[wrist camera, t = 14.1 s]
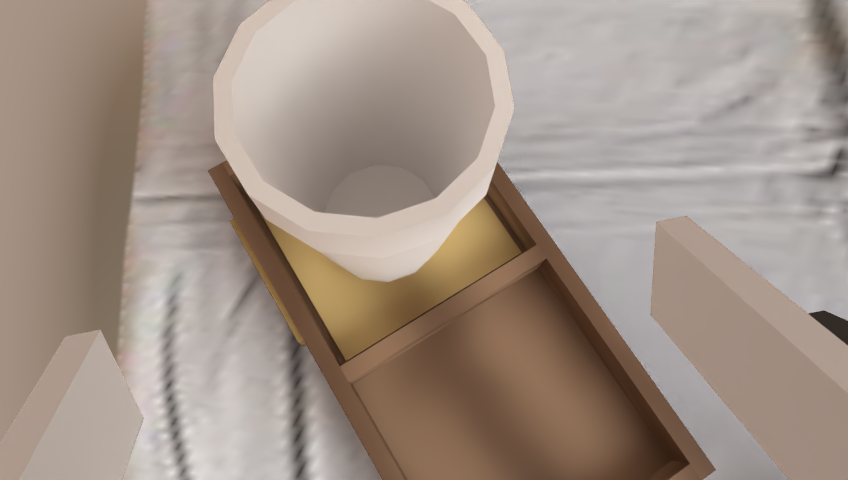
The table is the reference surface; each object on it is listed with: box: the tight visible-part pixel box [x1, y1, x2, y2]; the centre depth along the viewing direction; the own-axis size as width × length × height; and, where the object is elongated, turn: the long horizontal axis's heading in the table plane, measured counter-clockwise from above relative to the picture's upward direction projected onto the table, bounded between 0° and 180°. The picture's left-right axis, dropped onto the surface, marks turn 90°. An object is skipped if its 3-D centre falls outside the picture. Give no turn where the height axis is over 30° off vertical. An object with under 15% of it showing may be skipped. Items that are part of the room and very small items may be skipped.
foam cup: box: [213, 0, 514, 282], centre depth 25 cm, size 10×9×13 cm
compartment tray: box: [208, 161, 716, 480], centre depth 30 cm, size 13×24×3 cm, turn 32°
